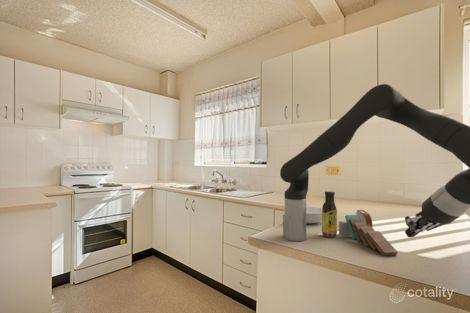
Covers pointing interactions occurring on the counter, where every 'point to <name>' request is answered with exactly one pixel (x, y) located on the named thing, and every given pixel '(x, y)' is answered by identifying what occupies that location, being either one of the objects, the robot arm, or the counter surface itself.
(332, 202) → the sauce bottle
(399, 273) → the counter surface
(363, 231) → the domino
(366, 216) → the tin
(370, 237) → the domino
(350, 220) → the domino
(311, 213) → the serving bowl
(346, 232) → the block
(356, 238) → the domino
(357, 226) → the domino
